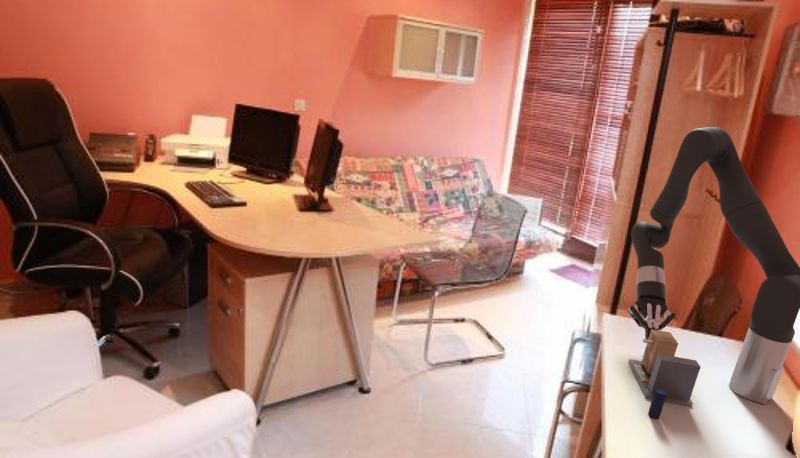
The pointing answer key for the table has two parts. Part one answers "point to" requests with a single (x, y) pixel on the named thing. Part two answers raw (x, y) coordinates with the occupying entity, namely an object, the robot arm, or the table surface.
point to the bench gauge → (668, 378)
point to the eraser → (657, 404)
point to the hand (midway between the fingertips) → (651, 342)
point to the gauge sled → (658, 347)
